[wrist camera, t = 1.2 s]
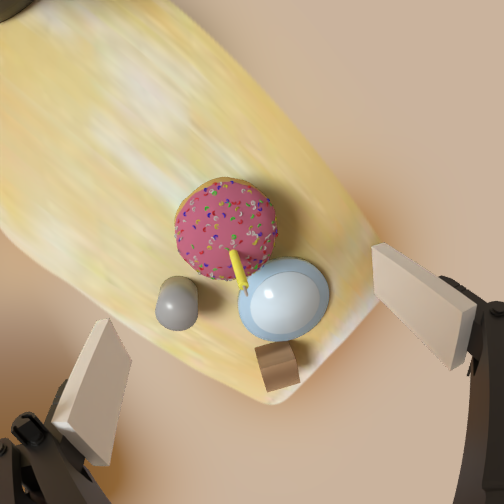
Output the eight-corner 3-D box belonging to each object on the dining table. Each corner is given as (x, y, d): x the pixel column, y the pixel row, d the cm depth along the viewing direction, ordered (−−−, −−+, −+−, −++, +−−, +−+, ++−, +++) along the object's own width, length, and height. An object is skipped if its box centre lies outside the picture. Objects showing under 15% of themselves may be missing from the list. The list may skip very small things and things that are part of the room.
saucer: (227, 271, 31) (228, 276, 30) (319, 245, 32) (324, 249, 31) (249, 346, 35) (251, 352, 34) (329, 321, 35) (333, 327, 34)
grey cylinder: (154, 281, 30) (148, 300, 27) (191, 271, 31) (190, 289, 27) (167, 313, 32) (164, 334, 28) (202, 304, 32) (203, 325, 28)
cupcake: (277, 241, 31) (319, 298, 20) (199, 271, 31) (199, 344, 20) (249, 159, 28) (280, 172, 17) (164, 193, 28) (138, 229, 16)
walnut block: (254, 347, 35) (260, 369, 31) (286, 338, 35) (295, 359, 32) (261, 370, 37) (267, 392, 33) (291, 361, 37) (300, 382, 33)
